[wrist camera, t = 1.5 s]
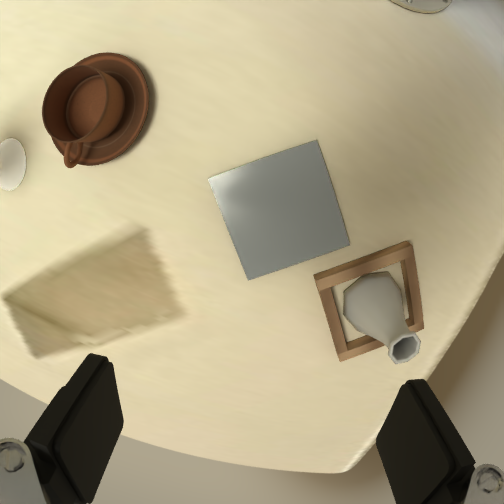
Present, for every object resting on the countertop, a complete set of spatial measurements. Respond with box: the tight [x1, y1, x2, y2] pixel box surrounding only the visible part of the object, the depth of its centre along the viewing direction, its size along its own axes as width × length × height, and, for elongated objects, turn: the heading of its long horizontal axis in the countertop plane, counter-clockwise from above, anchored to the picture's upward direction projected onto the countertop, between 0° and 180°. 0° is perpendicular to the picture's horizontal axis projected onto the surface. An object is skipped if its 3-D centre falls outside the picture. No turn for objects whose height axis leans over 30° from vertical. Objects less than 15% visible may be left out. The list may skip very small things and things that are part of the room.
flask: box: [343, 272, 421, 364], centre depth 29 cm, size 7×7×10 cm
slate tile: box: [208, 140, 350, 280], centre depth 31 cm, size 11×11×1 cm
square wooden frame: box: [313, 241, 424, 362], centre depth 33 cm, size 11×11×2 cm
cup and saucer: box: [42, 53, 149, 168], centre depth 26 cm, size 12×12×6 cm
